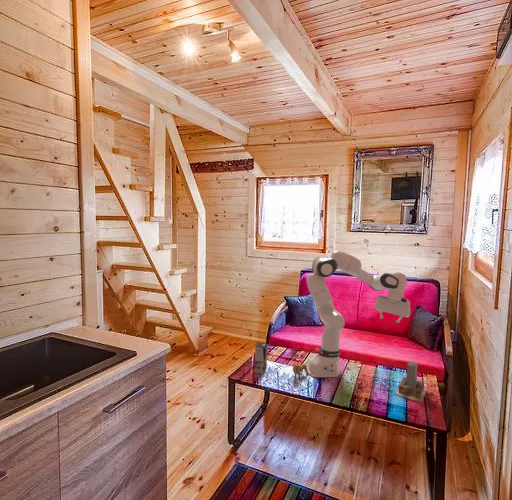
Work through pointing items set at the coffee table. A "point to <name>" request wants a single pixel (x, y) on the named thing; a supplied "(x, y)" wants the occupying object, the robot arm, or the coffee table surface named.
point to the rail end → (412, 375)
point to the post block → (411, 391)
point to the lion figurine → (299, 370)
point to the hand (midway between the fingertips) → (389, 320)
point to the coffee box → (260, 358)
